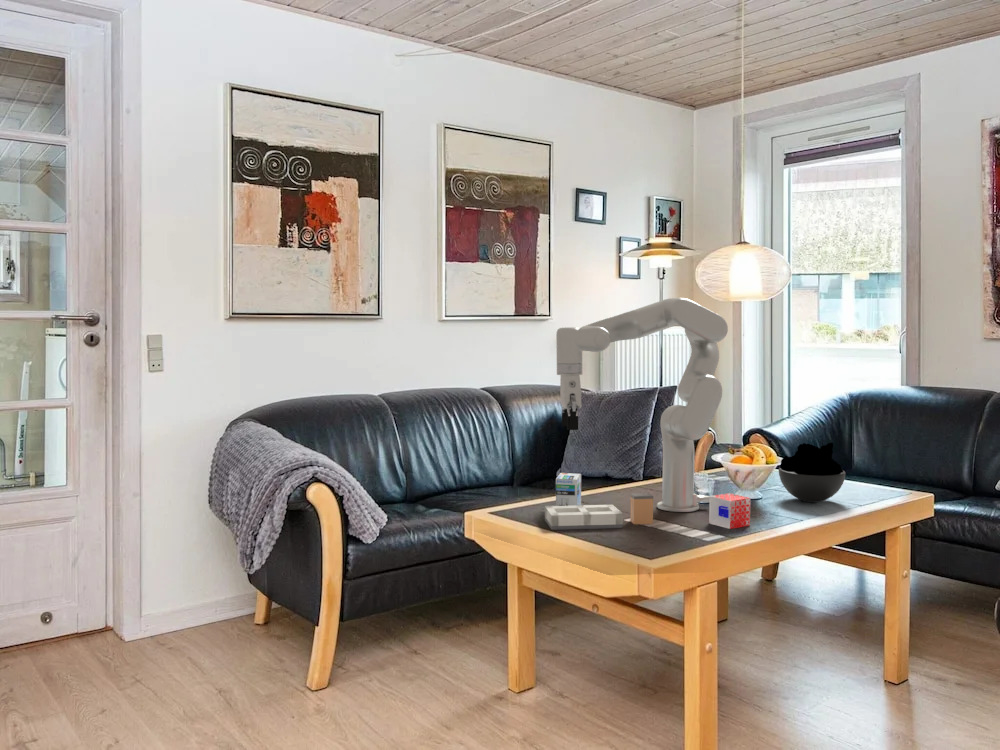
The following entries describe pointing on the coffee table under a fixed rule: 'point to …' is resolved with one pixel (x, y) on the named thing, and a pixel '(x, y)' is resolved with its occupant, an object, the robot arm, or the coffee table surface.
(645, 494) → the tan box
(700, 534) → the coffee table surface
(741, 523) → the red and white box
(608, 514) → the socket plate
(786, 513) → the coffee table surface
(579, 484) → the light bulb box
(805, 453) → the bowl of black rocks
